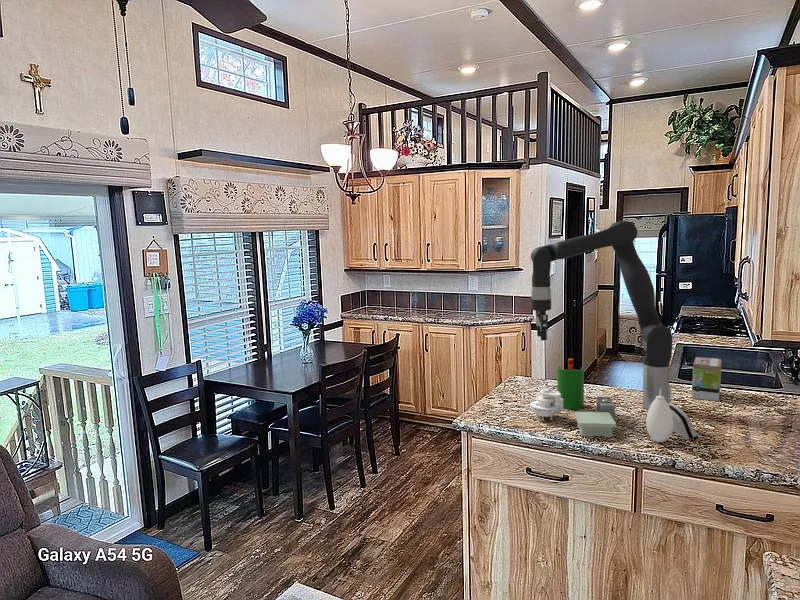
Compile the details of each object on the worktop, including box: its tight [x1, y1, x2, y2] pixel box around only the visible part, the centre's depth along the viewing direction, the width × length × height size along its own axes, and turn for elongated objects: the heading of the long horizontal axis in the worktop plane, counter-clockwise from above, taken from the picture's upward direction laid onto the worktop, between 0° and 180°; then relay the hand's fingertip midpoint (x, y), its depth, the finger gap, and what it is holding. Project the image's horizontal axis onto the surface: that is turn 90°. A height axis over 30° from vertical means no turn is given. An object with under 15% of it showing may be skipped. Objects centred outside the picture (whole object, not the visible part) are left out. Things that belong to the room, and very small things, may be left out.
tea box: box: [691, 356, 722, 402], centre depth 223 cm, size 15×10×15 cm, turn 148°
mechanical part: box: [529, 385, 564, 421], centre depth 202 cm, size 11×12×12 cm
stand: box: [573, 411, 617, 438], centre depth 187 cm, size 12×12×5 cm
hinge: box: [668, 402, 701, 440], centre depth 185 cm, size 17×5×10 cm, turn 179°
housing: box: [596, 396, 616, 422], centre depth 198 cm, size 5×9×8 cm, turn 168°
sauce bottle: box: [645, 389, 673, 443], centre depth 175 cm, size 8×8×18 cm
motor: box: [556, 358, 585, 410], centre depth 214 cm, size 10×9×20 cm
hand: (541, 338), depth 213 cm, fingers open, 8 cm apart
